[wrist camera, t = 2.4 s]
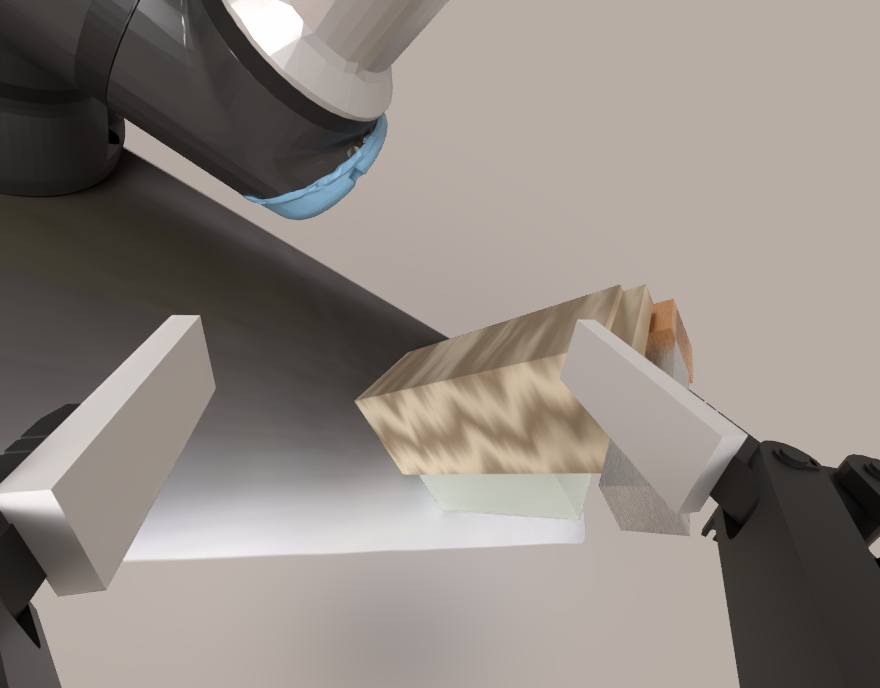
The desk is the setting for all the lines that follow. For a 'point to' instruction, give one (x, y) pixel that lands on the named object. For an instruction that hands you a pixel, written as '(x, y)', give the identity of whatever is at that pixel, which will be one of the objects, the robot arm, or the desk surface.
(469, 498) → the pale green block
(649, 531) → the grey long bar
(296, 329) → the desk surface
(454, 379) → the stand
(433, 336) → the desk surface
